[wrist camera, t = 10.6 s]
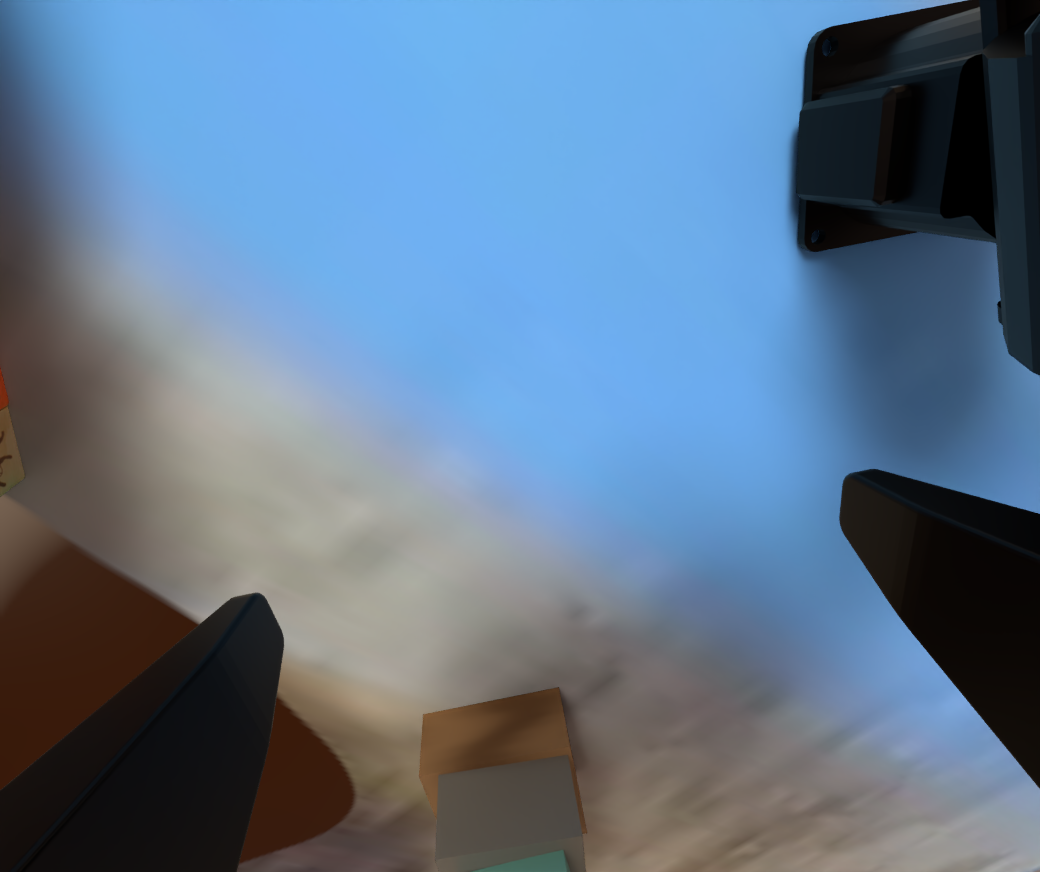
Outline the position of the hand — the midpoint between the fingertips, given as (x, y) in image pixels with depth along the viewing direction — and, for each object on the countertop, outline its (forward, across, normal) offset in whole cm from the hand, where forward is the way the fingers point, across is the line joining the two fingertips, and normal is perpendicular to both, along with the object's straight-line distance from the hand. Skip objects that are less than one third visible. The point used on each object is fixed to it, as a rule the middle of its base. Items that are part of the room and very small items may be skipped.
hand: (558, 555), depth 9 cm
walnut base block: (+13, +4, +22) cm, 26 cm away
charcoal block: (+10, +4, +22) cm, 25 cm away
